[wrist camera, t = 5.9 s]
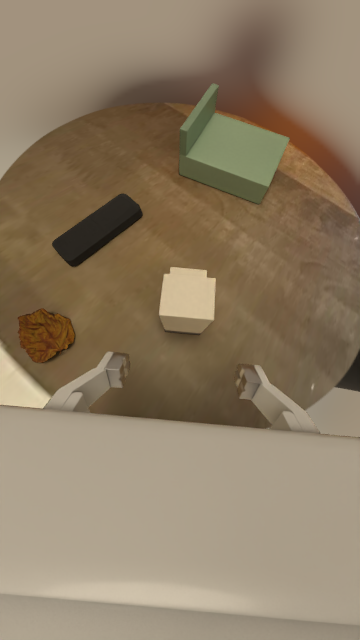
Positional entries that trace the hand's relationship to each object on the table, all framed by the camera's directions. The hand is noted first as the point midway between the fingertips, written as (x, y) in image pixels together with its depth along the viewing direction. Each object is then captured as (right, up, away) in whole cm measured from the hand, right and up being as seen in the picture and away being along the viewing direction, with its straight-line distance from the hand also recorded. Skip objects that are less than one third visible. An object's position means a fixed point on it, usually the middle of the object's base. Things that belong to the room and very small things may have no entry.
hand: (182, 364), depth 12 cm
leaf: (-18, +1, +10) cm, 21 cm away
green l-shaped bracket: (+10, +33, +19) cm, 39 cm away
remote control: (-13, +18, +14) cm, 27 cm away
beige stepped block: (0, +5, +11) cm, 13 cm away
